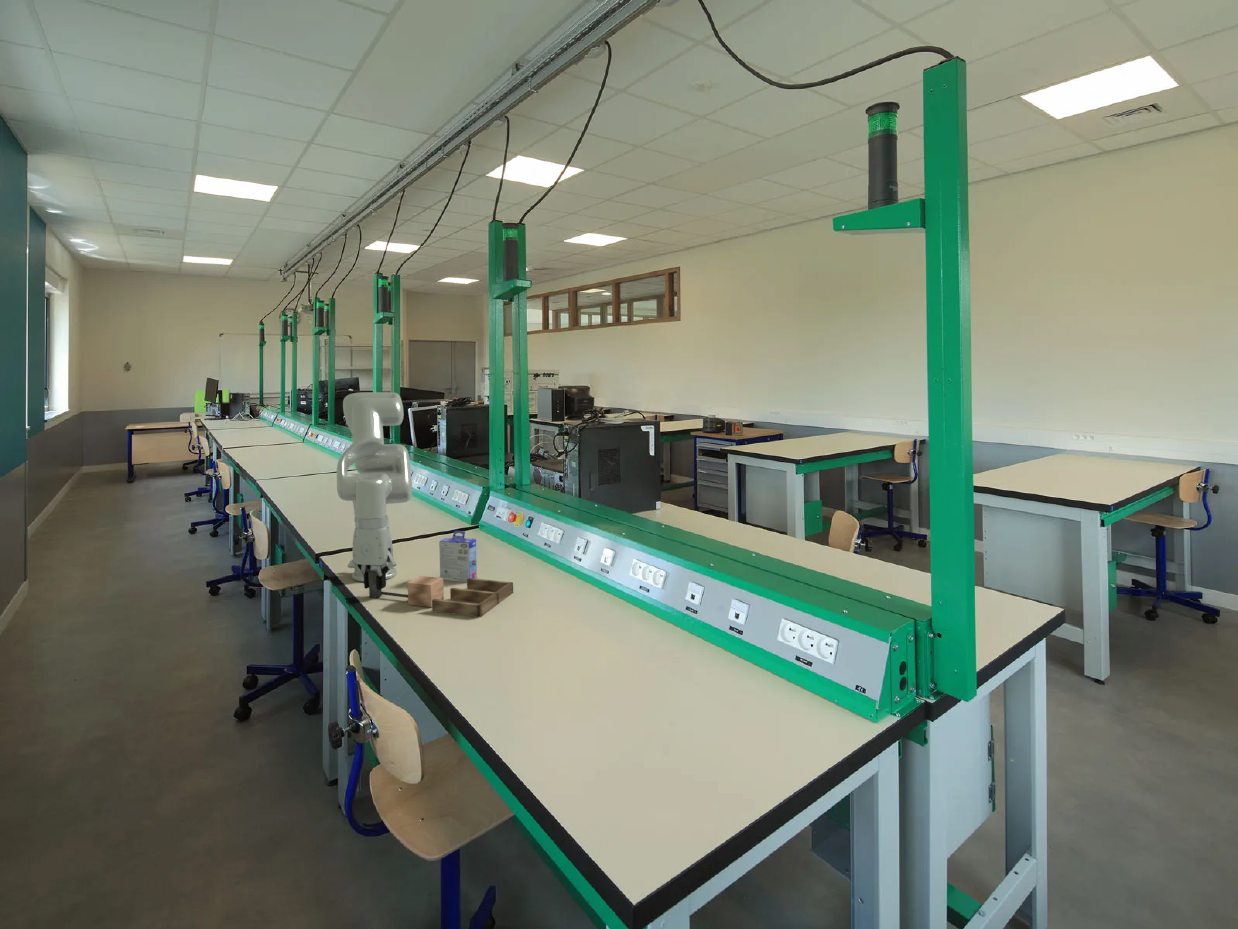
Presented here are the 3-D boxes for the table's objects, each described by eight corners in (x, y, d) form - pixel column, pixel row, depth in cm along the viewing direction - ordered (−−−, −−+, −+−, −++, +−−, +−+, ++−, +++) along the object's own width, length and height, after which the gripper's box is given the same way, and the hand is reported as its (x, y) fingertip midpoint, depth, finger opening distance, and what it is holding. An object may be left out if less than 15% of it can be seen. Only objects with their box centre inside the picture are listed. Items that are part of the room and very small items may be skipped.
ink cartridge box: (478, 577, 190) (476, 530, 188) (470, 583, 185) (469, 535, 183) (448, 575, 192) (446, 529, 190) (439, 580, 186) (437, 533, 184)
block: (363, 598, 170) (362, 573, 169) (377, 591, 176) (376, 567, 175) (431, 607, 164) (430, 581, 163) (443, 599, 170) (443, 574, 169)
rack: (432, 611, 162) (431, 600, 162) (468, 587, 180) (468, 577, 180) (480, 617, 158) (480, 605, 158) (513, 592, 176) (513, 582, 176)
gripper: (337, 523, 168) (340, 589, 171) (389, 528, 164) (392, 595, 166) (355, 517, 175) (359, 580, 178) (406, 521, 171) (409, 586, 173)
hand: (375, 587), depth 172 cm, fingers closed on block, 3 cm apart
